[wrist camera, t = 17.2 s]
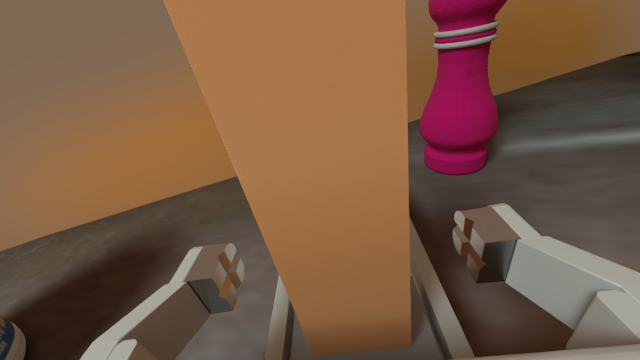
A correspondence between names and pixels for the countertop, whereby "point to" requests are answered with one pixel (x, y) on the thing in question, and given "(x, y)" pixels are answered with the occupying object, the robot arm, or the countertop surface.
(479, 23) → the pepper mill
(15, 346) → the supplement tub
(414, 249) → the white base plate
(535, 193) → the countertop surface
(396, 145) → the lever
